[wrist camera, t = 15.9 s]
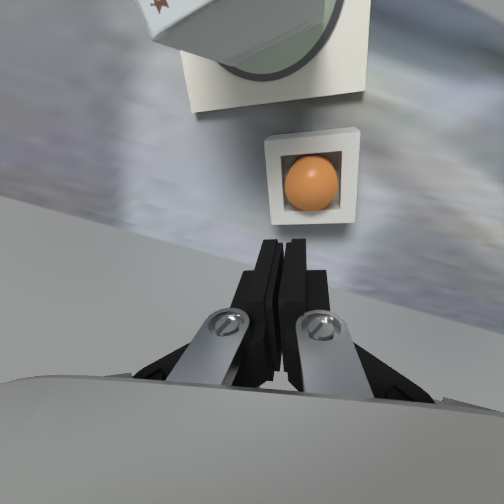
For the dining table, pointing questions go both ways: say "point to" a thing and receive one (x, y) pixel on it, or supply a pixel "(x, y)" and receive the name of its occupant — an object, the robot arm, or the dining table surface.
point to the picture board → (289, 64)
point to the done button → (311, 182)
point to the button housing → (296, 144)
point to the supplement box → (228, 25)
